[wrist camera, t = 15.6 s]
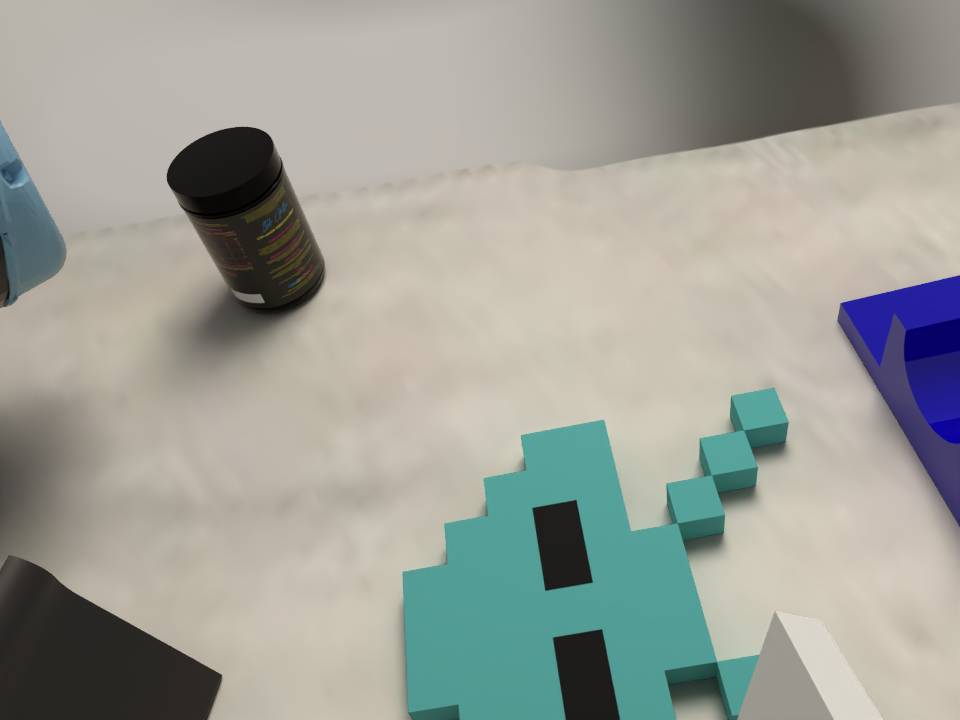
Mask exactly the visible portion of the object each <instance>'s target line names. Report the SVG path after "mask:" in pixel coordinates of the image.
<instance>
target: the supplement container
mask: <svg viewBox="0 0 960 720" xmlns="http://www.w3.org/2000/svg"><path fill="white" fill-rule="evenodd" d="M167 182H168V184H169V186H170V188H171V190H172V191H173V193H174V195H175V196H176V198H177V200H178V203H179V205H180V206H181V208H182V209H183V210H184V211H185V213H186V215H187V216H188V218H189V220H190V222H191V223H192V225H193V227H194V229H195V230H196V232H197V234H198V236H199V237H200V239H201V241H202V242H203V244H204V246H205V248H206V249H207V251H208V253H209V255H210V256H211V258H212V260H213V262H214V263H215V265H216V267H217V269H218V270H219V272H220V274H221V275H222V277H223V279H224V281H225V282H226V284H227V286H228V288H229V289H230V291H231V293H232V295H233V296H234V298H235V300H236V301H237V302H238V303H239V304H241V305H242V306H243V307H245V308H247V309H249V310H252V311H255V312H260V313H275V312H280V311H284V310H287V309H290V308H292V307H294V306H296V305H298V304H300V303H302V302H303V301H305V300H306V299H307V298H308V297H309V296H311V295H312V294H313V292H314V291H315V290H316V289H317V287H318V286H319V284H320V282H321V280H322V278H323V275H324V267H325V262H324V258H323V255H322V253H321V251H320V249H319V246H318V244H317V242H316V240H315V237H314V235H313V233H312V230H311V228H310V226H309V224H308V221H307V219H306V217H305V215H304V212H303V210H302V208H301V205H300V203H299V201H298V199H297V196H296V194H295V192H294V190H293V188H292V185H291V183H290V181H289V178H288V176H287V174H286V172H285V169H284V167H283V162H282V160H281V158H280V156H279V154H278V152H277V150H276V148H275V145H274V143H273V141H272V139H271V137H270V136H269V135H268V134H267V133H266V132H264V131H262V130H260V129H257V128H252V127H235V128H228V129H224V130H220V131H217V132H214V133H211V134H208V135H206V136H204V137H202V138H200V139H198V140H196V141H195V142H193V143H191V144H190V145H189V146H187V147H186V148H185V149H183V150H182V151H181V152H180V153H179V154H178V155H177V156H176V158H175V159H174V160H173V162H172V163H171V165H170V166H169V169H168V173H167Z"/></svg>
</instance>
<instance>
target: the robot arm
mask: <svg viewBox="0 0 960 720" xmlns="http://www.w3.org/2000/svg"><path fill="white" fill-rule="evenodd" d="M65 259H66V245H65V242H64V240H63V237H62V235H61V233H60V232H59V230H58V228H57V226H56V224H55V222H54V220H53V218H52V217H51V215H50V213H49V211H48V209H47V207H46V205H45V203H44V201H43V200H42V198H41V196H40V194H39V192H38V190H37V189H36V187H35V185H34V183H33V181H32V179H31V177H30V175H29V174H28V172H27V170H26V168H25V166H24V164H23V162H22V161H21V159H20V157H19V155H18V153H17V151H16V149H15V148H14V146H13V144H12V142H11V140H10V138H9V136H8V135H7V133H6V131H5V129H4V128H3V126H2V124H1V122H0V308H2V307H7V306H10V305H12V304H14V303H15V302H16V300H17V299H18V297H19V296H20V295H22V294H24V293H25V292H27V291H29V290H31V289H32V288H34V287H36V286H38V285H39V284H41V283H43V282H45V281H46V280H48V279H50V278H52V277H53V276H55V275H56V274H57V273H58V272H59V271H60V270H61V268H62V267H63V265H64V262H65ZM737 720H883V719H882V717H881V716H880V714H879V713H878V711H877V709H876V708H875V706H874V704H873V703H872V701H871V700H870V698H869V696H868V695H867V693H866V692H865V690H864V688H863V687H862V685H861V684H860V682H859V680H858V679H857V677H856V676H855V674H854V672H853V671H852V669H851V668H850V666H849V664H848V663H847V661H846V659H845V658H844V656H843V655H842V653H841V651H840V650H839V648H838V647H837V645H836V643H835V642H834V640H833V639H832V637H831V635H830V634H829V632H828V631H827V629H826V627H825V626H824V624H823V623H822V621H821V620H816V619H812V618H807V617H802V616H797V615H793V614H788V613H783V612H779V611H775V612H774V615H773V618H772V621H771V624H770V627H769V630H768V632H767V635H766V638H765V641H764V644H763V647H762V650H761V653H760V655H759V658H758V661H757V664H756V667H755V670H754V673H753V675H752V678H751V681H750V684H749V687H748V690H747V693H746V696H745V698H744V701H743V704H742V707H741V710H740V713H739V716H738V718H737Z"/></svg>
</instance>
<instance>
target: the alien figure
mask: <svg viewBox="0 0 960 720" xmlns="http://www.w3.org/2000/svg"><path fill="white" fill-rule="evenodd" d="M730 417H731V420H732V423H733V426H734V428H735V431H736V432H732V433H727V434H721V435H716V436H710V437H705V438H700V455H699V458H700V461H701V464H702V467H703V470H704V474H705V477H700V478H695V479H689V480H683V481H678V482H672V483H667V484H666V485H667V504H668V507H669V511H670V514H671V518H672V522H673V524H671V525H665V526H660V527H654V528H648V529H643V530H637V531H631V530H630V526H629V521H628V517H627V513H626V509H625V505H624V501H623V496H622V492H621V488H620V484H619V480H618V476H617V472H616V467H615V463H614V459H613V455H612V451H611V447H610V442H609V438H608V434H607V430H606V426H605V422H604V420H600V421H595V422H589V423H584V424H579V425H573V426H568V427H562V428H557V429H552V430H546V431H541V432H536V433H530V434H525V435H521V440H522V447H523V453H524V459H525V466H526V471H520V472H515V473H509V474H504V475H498V476H493V477H487V478H484V485H485V494H486V502H487V511H488V516H484V517H479V518H473V519H467V520H462V521H456V522H451V523H445V524H444V526H445V538H446V551H447V564H445V565H439V566H434V567H428V568H422V569H417V570H411V571H405V572H403V595H404V619H405V644H406V669H407V693H408V713H409V714H410V716H411V717H412V718H413V720H456V719H460V720H676V717H675V713H674V708H673V704H672V700H671V696H670V692H669V688H668V685H669V684H675V683H681V682H687V681H694V680H700V679H706V678H712V677H716V679H717V683H718V686H719V690H720V693H721V697H722V701H723V704H724V708H725V711H726V715H727V719H728V720H737V718H738V716H739V713H740V710H741V707H742V704H743V701H744V698H745V696H746V693H747V690H748V687H749V684H750V681H751V678H752V675H753V673H754V670H755V667H756V664H757V661H758V658H759V655H755V656H749V657H743V658H737V659H731V660H725V661H719V662H717V660H716V657H715V653H714V650H713V646H712V643H711V639H710V635H709V632H708V628H707V625H706V621H705V618H704V614H703V611H702V607H701V604H700V600H699V597H698V593H697V590H696V586H695V583H694V579H693V575H692V572H691V568H690V565H689V561H688V558H687V554H686V551H685V547H684V544H683V540H688V539H693V538H699V537H705V536H710V535H716V534H722V533H724V521H725V514H724V511H723V508H722V505H721V502H720V499H719V495H718V493H720V492H726V491H731V490H737V489H743V488H748V487H754V486H756V478H757V469H758V466H757V464H756V461H755V458H754V456H753V453H752V450H751V448H755V447H761V446H766V445H772V444H777V443H782V442H786V436H787V429H788V423H789V422H788V419H787V417H786V415H785V412H784V410H783V407H782V405H781V403H780V400H779V398H778V395H777V393H776V391H775V388H771V389H766V390H760V391H755V392H750V393H744V394H739V395H734V396H731V408H730Z"/></svg>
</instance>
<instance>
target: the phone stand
mask: <svg viewBox="0 0 960 720" xmlns="http://www.w3.org/2000/svg"><path fill="white" fill-rule="evenodd" d="M221 678H222V675H221V674H219V673H218V672H216V671H214V670H212V669H210V668H209V667H207V666H205V665H203V664H201V663H200V662H198V661H196V660H194V659H192V658H191V657H189V656H187V655H185V654H183V653H182V652H180V651H178V650H176V649H174V648H173V647H171V646H169V645H167V644H165V643H164V642H162V641H160V640H158V639H156V638H155V637H153V636H151V635H149V634H147V633H146V632H144V631H142V630H140V629H138V628H137V627H135V626H133V625H131V624H129V623H128V622H126V621H124V620H122V619H120V618H119V617H117V616H115V615H113V614H111V613H110V612H108V611H106V610H104V609H102V608H101V607H99V606H97V605H95V604H93V603H92V602H90V601H88V600H86V599H84V598H83V597H81V596H79V595H77V594H76V593H74V592H72V591H71V590H69V589H68V588H67V587H65V586H64V585H63V584H61V583H60V582H59V581H58V580H57V579H56V578H55V577H54V576H53V575H52V574H51V573H49V572H48V571H46V570H45V569H43V568H41V567H39V566H38V565H35V564H33V563H31V562H29V561H26V560H23V559H20V558H17V557H14V556H10V555H9V556H8V558H7V560H6V561H5V563H4V565H3V567H2V569H1V570H0V720H206V719H207V716H208V713H209V710H210V708H211V705H212V702H213V700H214V697H215V694H216V691H217V689H218V686H219V683H220V680H221Z"/></svg>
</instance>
